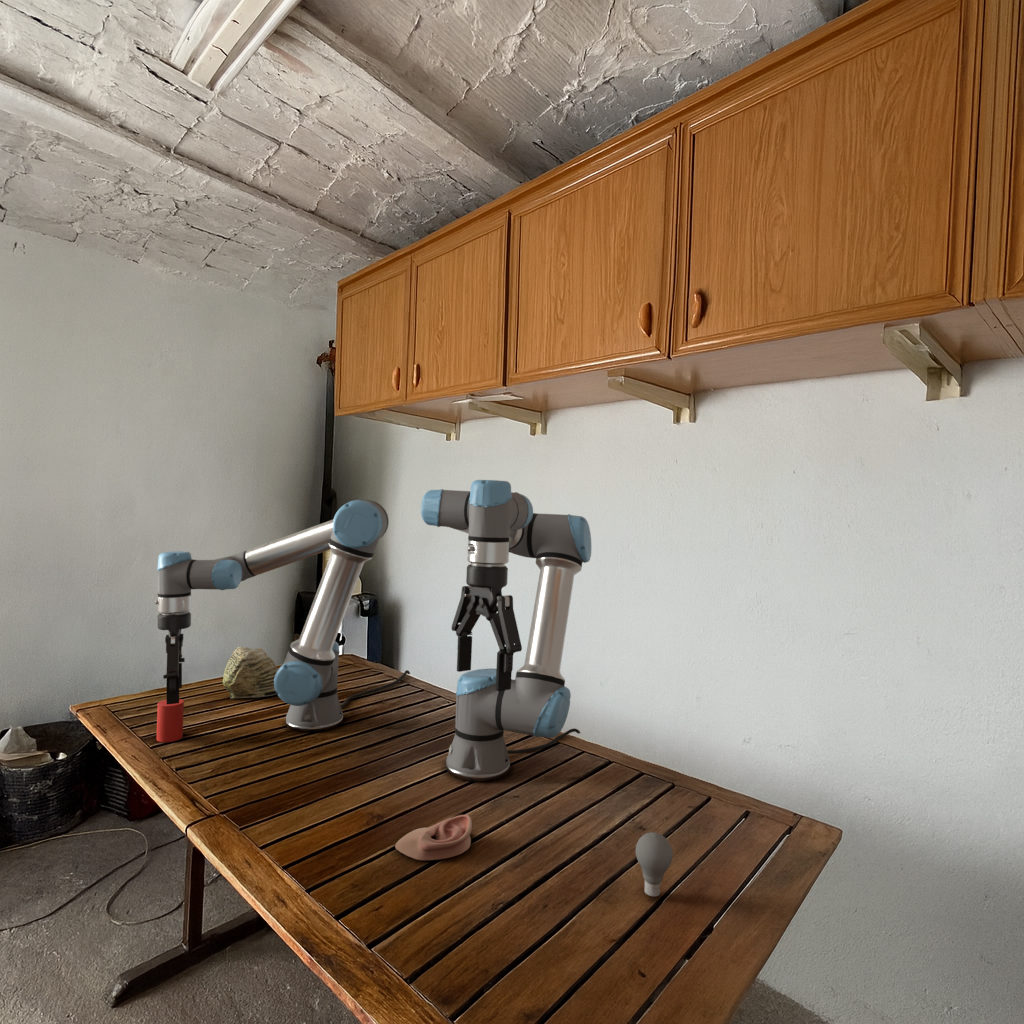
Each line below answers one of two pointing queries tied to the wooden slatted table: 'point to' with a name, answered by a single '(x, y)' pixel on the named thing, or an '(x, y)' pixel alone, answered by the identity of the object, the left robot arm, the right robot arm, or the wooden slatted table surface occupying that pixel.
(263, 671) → the fossil
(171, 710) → the canister
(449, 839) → the anatomical model
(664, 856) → the light bulb
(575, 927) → the wooden slatted table surface
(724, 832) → the wooden slatted table surface
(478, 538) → the right robot arm
